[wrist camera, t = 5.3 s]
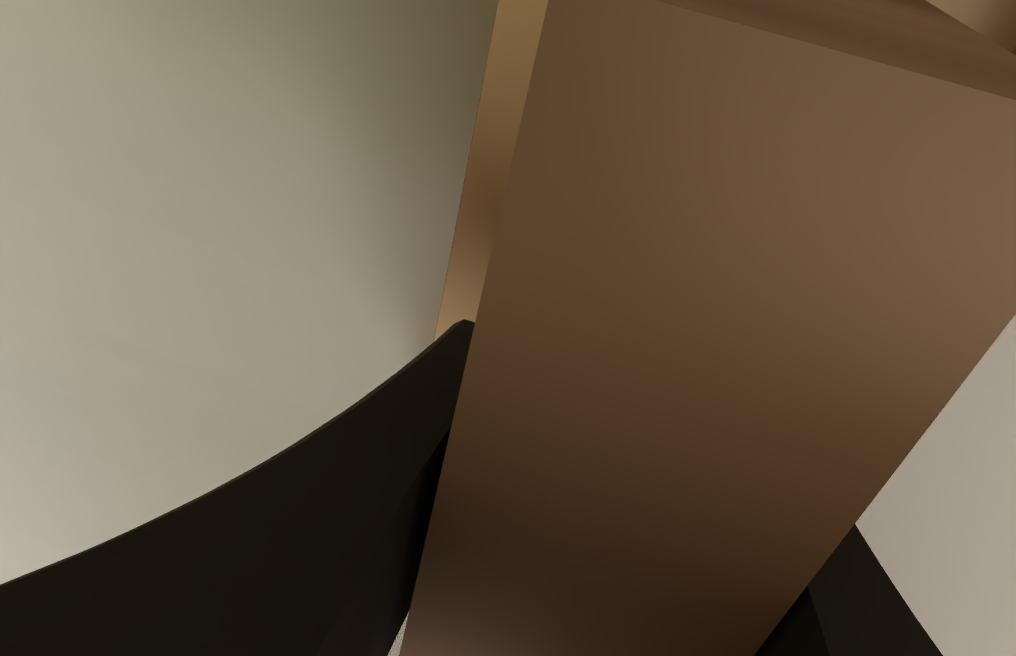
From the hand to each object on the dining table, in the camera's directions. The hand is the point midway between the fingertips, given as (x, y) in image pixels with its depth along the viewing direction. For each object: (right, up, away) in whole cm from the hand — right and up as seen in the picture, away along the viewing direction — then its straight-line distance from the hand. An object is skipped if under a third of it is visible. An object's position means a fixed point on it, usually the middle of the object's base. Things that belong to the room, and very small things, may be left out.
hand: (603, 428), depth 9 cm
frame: (+1, +2, +2) cm, 3 cm away
